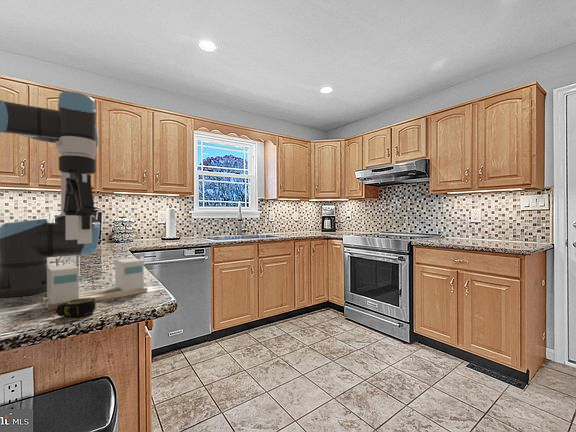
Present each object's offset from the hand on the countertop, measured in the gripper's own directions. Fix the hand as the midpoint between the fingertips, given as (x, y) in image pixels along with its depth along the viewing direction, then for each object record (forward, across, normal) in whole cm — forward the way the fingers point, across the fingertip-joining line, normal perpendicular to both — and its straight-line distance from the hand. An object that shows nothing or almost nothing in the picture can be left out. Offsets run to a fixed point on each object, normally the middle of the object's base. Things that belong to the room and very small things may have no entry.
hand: (78, 241), depth 73 cm
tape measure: (+19, 0, 0) cm, 19 cm away
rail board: (+18, -14, +8) cm, 25 cm away
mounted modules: (+17, -14, +8) cm, 24 cm away
